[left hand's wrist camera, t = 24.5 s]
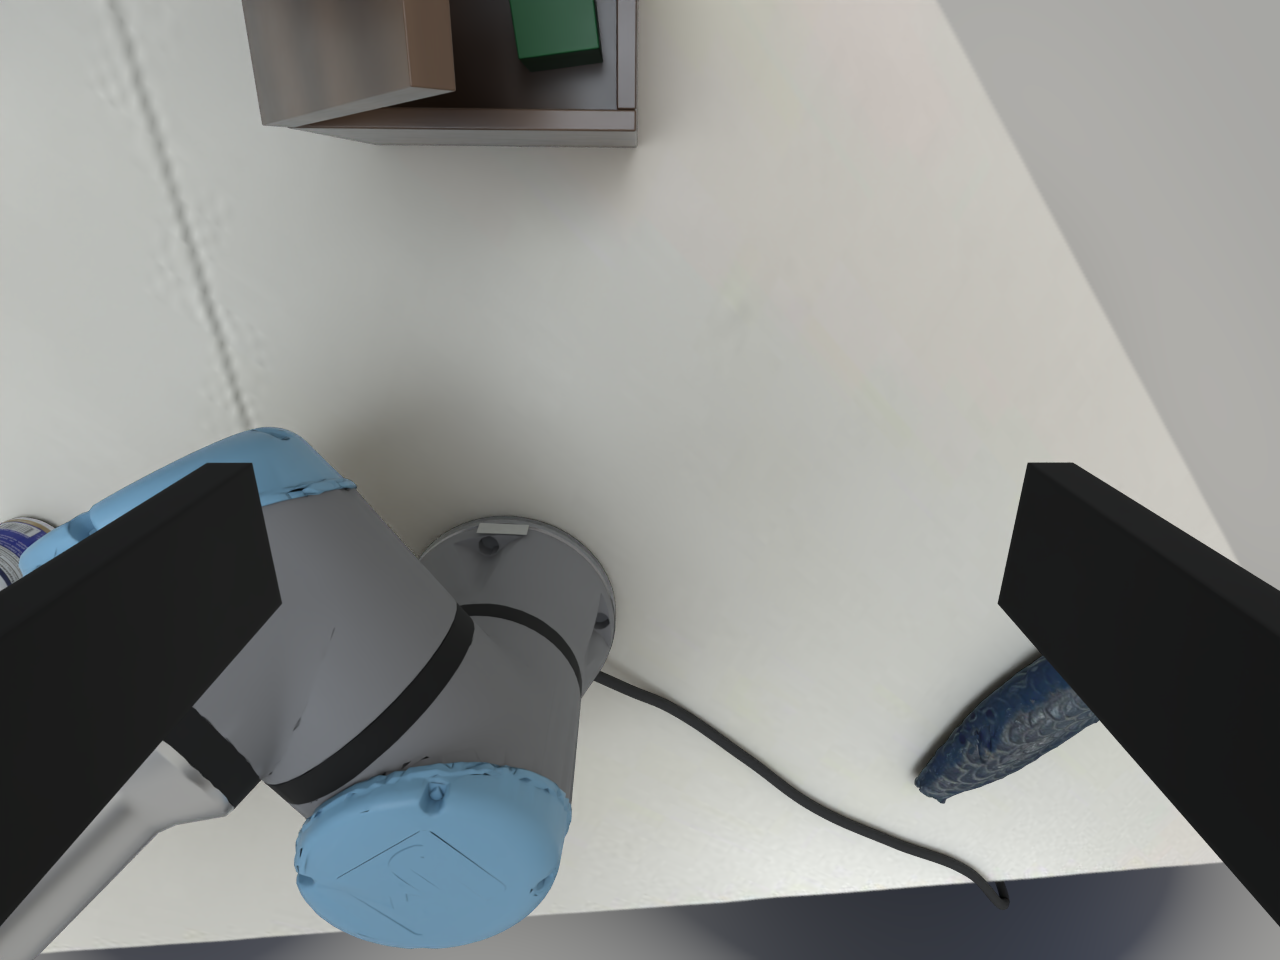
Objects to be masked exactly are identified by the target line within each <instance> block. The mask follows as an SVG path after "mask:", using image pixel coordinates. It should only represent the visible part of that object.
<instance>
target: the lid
mask: <svg viewBox="0 0 1280 960" xmlns="http://www.w3.org/2000/svg"><path fill="white" fill-rule="evenodd" d="M242 5H243V11H244V17H245V23H246V29H247V35H248V41H249V47H250V53H251V59H252V65H253V71H254V77H255V83H256V89H257V96H258V102H259V108H260V114H261V120H262V125H264V126H279V127H298V126H302V125H307V124H311V123H315V122H320V121H324V120H329V119H333V118H338V117H342V116H347V115H351V114H355V113H360V112H364V111H369V110H373V109H378V108H382V107H387V106H391V105H396V104H400V103H404V102H409V101H413V100H418V99H422V98H427V97H431V96H436V95H440V94H444V93H449V92H453V91H455V90H456V86H455V73H454V59H453V46H452V33H451V19H450V6H449V0H242Z"/></svg>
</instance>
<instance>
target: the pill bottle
mask: <svg viewBox="0 0 1280 960" xmlns="http://www.w3.org/2000/svg"><path fill="white" fill-rule="evenodd" d="M53 529H55V528H54V527H52V526H51V525H49V524H47V523H45V522H43V521H40V520H37V519H33V518H26V517H21V518H14V519H10V520H8V521H5V522H3V523H1V524H0V591H1V590H3V589H4V588H6V587H8V586H9V585H11V584H12V583H14V582H16V581H17V580H19V579H20V578H22V577H23V574H22V572H21V570H20V568H19V566H18V565H19V560H20V556H21V555H22V553H23V552H24V551H25V550H26V549H27V548H28V547H29V546H31V545H32V544H33V543H34V542H36V541H37V540H38V539H40V538H41V537H43V536H44V535H45V534H47V533H48V532H50V531H52V530H53Z"/></svg>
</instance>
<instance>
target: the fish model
mask: <svg viewBox="0 0 1280 960" xmlns="http://www.w3.org/2000/svg"><path fill="white" fill-rule="evenodd" d="M1098 721H1099V719H1098V718H1097V717H1096V716H1095V714H1094V713H1093V712H1092V711H1091V710H1090V709H1089V708H1088V706H1087V705H1086V704H1085V703H1084V702H1083V701H1082V700H1081V698H1080V697H1079V696H1078V695H1077V694H1076V693H1075V692H1074V690H1073V689H1072V688H1071V687H1070V686H1069V685H1068V684H1067V682H1066V681H1065V680H1064V679H1063V678H1062V677H1061V676H1060V674H1059V673H1058V672H1057V671H1056V670H1055V669H1054V668H1053V666H1052V665H1051V664H1050V663H1049V662H1048V661H1047V659H1046V658H1045V657H1044V656H1041V657H1040V658H1038V659H1037V660H1036V661H1034V662H1033V663H1032V664H1031V665H1029V666H1027V667H1025V668H1024V669H1022V670H1021V671H1019V672H1018V673H1016V674H1015V675H1014V676H1013V677H1012V678H1011V679H1010V680H1008V681H1007V682H1005V683H1004V684H1003V685H1002V686H1001V687H999V688H998V689H996V690H995V691H994V692H993V693H992V694H990V695H989V696H988V697H987V698H986V699H984V700H983V701H982V702H981V703H980V704H979V705H978V706H977V707H976V708H975V709H974V710H973V712H971V713H970V714H969V715H968V716H967V717H966V718H965V719H964V721H963V723H962V724H961V725H960V726H959V727H957V728H955V730H954V731H953V732H952V734H951V735H950V737H949V738H948V740H947V741H946V743H945V744H943V745H942V746H941V747H940V748H939V749H938V750H937V751H936V753H935V756H933V757H932V759H931V760H930V761H929V763H928V764H927V766H926V767H925V768H924V769H923V770H922V772H921V773H920V774H919V776H918V777H917V778H916V779H915V785H916V786H917V788H918V787H919V790H920V792H921V793H923V794H924V795H926V796H928V797H933V798H934V799H937V800H938V801H939V802H940V803H943V804H944V803H945V801H946V799H947V798H949V797H951V796H954V795H956V794H959V793H962V792H964V791H968V790H972V789H975V788H979V787H982V786H984V785H986V784H989V783H992V782H994V781H996V780H999V779H1002V778H1004V777H1006V776H1007V775H1009V774H1012V773H1014V772H1016V771H1018V770H1020V769H1022V768H1023V767H1024V766H1026V765H1028V764H1029V763H1031V762H1033V761H1035V760H1037V759H1038V758H1039V757H1040V756H1042V755H1044V754H1045V753H1047V752H1049V751H1050V750H1052V749H1054V748H1056V747H1058V746H1059V745H1061V744H1062V743H1064V742H1065V741H1067V740H1068V739H1070V738H1071V737H1073V736H1074V735H1076V734H1077V733H1079V732H1080V731H1082V730H1083V729H1084V728H1085V727H1087V726H1089V725H1091V724H1093V723H1097V722H1098Z"/></svg>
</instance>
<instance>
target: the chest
mask: <svg viewBox="0 0 1280 960" xmlns="http://www.w3.org/2000/svg"><path fill="white" fill-rule="evenodd" d="M596 4H597V13H598V21H599V30H600V38H601V46H602V55H603V62H602V63H595V64H587V65H580V66H573V67H565V68H558V69H550V70H543V71H535V72H530V71H529V70H528V69H527V68H526V67H525V65H524V64H523V63H522V62H521V61H520V60H519V58H518V53H517V47H516V41H515V34H514V28H513V22H512V15H511V9H510V2H509V0H449V6H450V19H451V33H452V46H453V59H454V73H455V86H456V90H455V91H453V92H449V93H444V94H440V95H436V96H431V97H427V98H422V99H418V100H413V101H409V102H404V103H400V104H396V105H391V106H387V107H382V108H378V109H373V110H369V111H364V112H360V113H355V114H351V115H347V116H342V117H338V118H333V119H329V120H324V121H320V122H315V123H311V124H307V125H302V126H298V127H288V128H291V129H296V130H301V131H307V132H312V133H317V134H322V135H328V136H333V137H338V138H343V139H349V140H354V141H359V142H364V143H370V144H375V145H450V146H543V147H637V98H638V0H596Z"/></svg>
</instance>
